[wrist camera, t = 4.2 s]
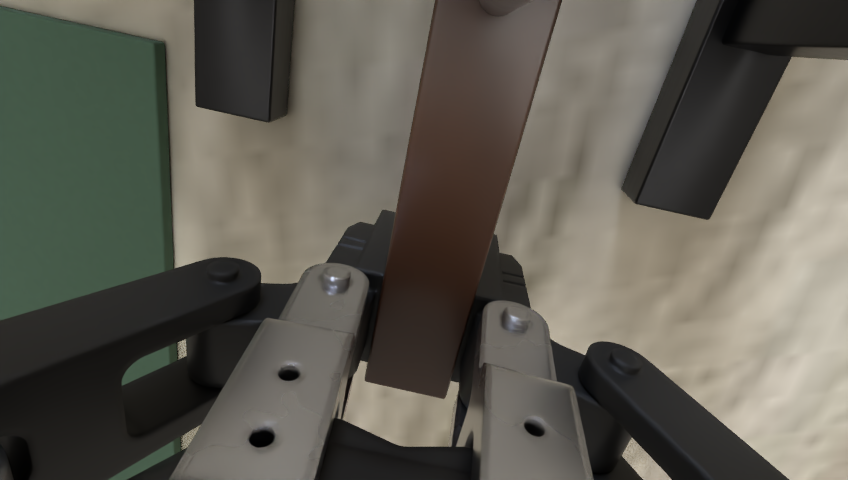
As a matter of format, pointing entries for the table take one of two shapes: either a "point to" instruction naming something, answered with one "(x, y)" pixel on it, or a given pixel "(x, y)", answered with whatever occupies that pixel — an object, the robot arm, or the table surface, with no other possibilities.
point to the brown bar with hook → (455, 182)
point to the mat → (82, 170)
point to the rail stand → (671, 117)
